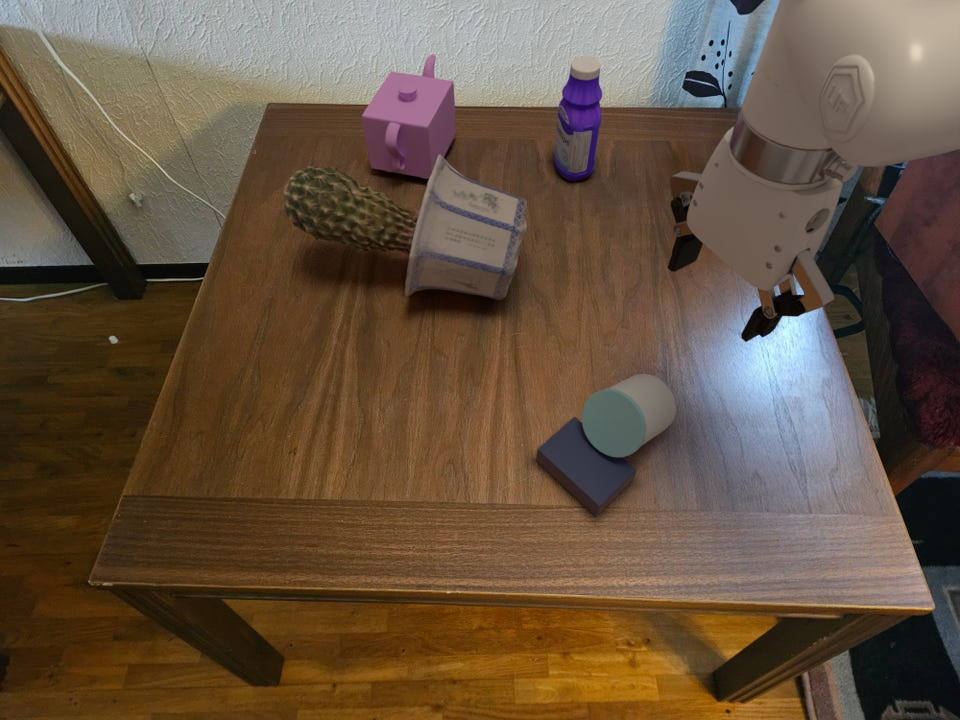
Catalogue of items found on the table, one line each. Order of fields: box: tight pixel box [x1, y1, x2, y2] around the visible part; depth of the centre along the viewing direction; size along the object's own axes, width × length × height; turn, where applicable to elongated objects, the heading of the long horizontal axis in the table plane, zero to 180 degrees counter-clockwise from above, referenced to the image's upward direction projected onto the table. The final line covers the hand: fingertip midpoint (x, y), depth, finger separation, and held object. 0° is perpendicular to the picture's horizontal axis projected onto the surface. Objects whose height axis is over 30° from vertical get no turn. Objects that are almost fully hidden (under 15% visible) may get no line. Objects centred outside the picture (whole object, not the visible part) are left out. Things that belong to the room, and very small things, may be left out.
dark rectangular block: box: [535, 416, 638, 518], centre depth 69 cm, size 9×6×3 cm, turn 43°
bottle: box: [553, 55, 603, 182], centre depth 93 cm, size 7×6×17 cm
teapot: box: [361, 54, 457, 180], centre depth 98 cm, size 20×10×12 cm, turn 164°
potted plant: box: [282, 155, 529, 301], centre depth 81 cm, size 18×18×30 cm
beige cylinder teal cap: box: [581, 373, 677, 458], centre depth 69 cm, size 10×7×10 cm
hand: (716, 297), depth 59 cm, fingers open, 9 cm apart
